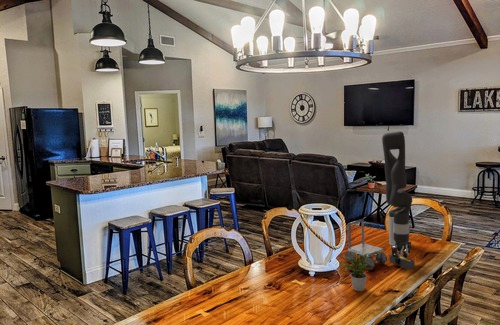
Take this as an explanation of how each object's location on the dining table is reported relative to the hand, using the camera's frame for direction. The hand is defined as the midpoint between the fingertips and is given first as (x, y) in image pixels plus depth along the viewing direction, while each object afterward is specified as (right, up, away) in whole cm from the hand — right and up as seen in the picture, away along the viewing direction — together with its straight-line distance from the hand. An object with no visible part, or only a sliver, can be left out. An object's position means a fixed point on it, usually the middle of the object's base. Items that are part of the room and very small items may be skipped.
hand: (401, 263), depth 199 cm
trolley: (-17, -1, +5) cm, 18 cm away
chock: (0, -1, 0) cm, 1 cm away
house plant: (-29, -5, -24) cm, 38 cm away
